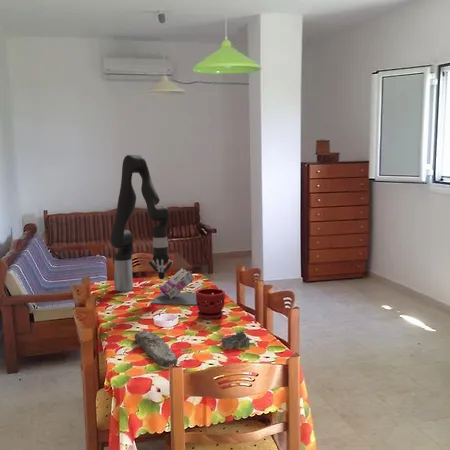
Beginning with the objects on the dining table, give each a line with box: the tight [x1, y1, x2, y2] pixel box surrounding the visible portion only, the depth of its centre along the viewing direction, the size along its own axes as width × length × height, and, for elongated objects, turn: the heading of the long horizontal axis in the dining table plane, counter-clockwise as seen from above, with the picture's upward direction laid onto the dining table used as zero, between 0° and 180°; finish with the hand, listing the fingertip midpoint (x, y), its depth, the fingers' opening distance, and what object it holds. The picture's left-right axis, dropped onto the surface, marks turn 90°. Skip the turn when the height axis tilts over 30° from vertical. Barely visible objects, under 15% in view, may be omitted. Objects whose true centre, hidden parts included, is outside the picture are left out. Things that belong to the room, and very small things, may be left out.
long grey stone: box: [134, 330, 178, 368], centre depth 206 cm, size 35×5×10 cm
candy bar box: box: [159, 267, 195, 300], centre depth 279 cm, size 11×5×16 cm
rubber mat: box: [150, 292, 197, 306], centre depth 276 cm, size 24×20×1 cm
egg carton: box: [220, 330, 251, 350], centre depth 211 cm, size 11×8×4 cm
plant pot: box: [195, 288, 226, 320], centre depth 246 cm, size 13×13×12 cm
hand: (161, 279), depth 275 cm, fingers closed
